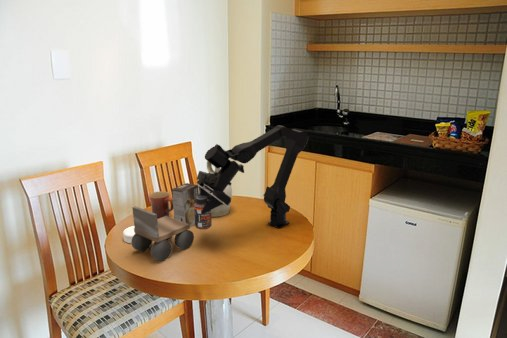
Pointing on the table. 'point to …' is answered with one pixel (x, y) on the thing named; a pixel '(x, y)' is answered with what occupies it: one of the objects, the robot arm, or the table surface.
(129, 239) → the coaster
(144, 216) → the trolley
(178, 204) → the coffee box
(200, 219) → the supplement bottle
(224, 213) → the jug
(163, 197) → the mug
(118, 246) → the table surface
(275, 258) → the table surface
